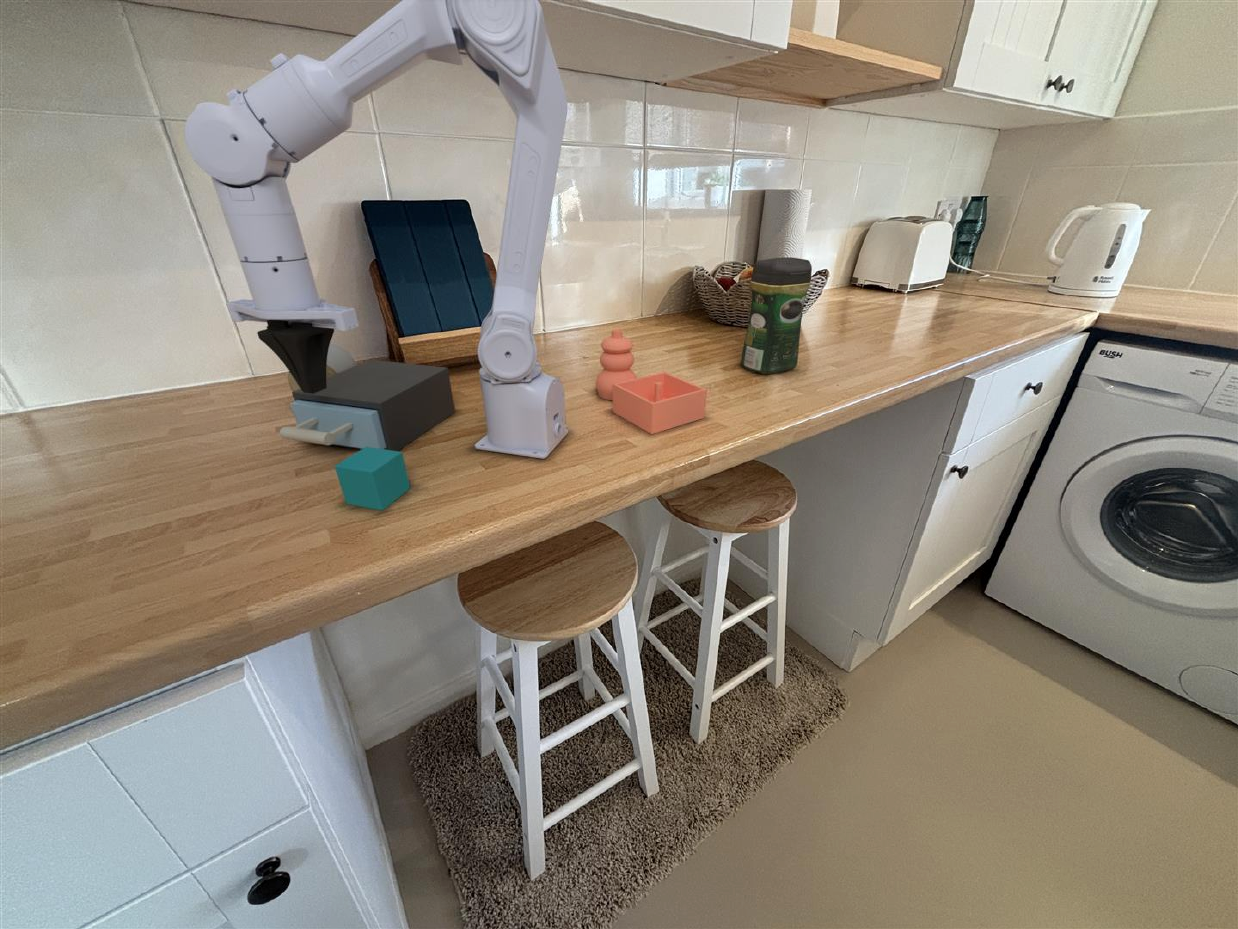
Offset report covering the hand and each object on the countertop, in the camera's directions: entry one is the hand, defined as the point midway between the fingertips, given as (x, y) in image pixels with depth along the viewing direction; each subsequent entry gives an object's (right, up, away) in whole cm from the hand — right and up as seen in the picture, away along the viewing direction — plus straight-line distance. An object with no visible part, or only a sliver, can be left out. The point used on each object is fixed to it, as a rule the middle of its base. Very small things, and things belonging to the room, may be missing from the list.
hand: (315, 390), depth 55 cm
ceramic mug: (-9, +2, +21) cm, 23 cm away
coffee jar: (+61, +9, +35) cm, 70 cm away
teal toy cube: (+9, -12, -4) cm, 15 cm away
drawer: (+1, -4, +8) cm, 9 cm away
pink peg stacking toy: (+37, 0, +19) cm, 41 cm away
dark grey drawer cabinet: (+2, -3, +12) cm, 12 cm away
